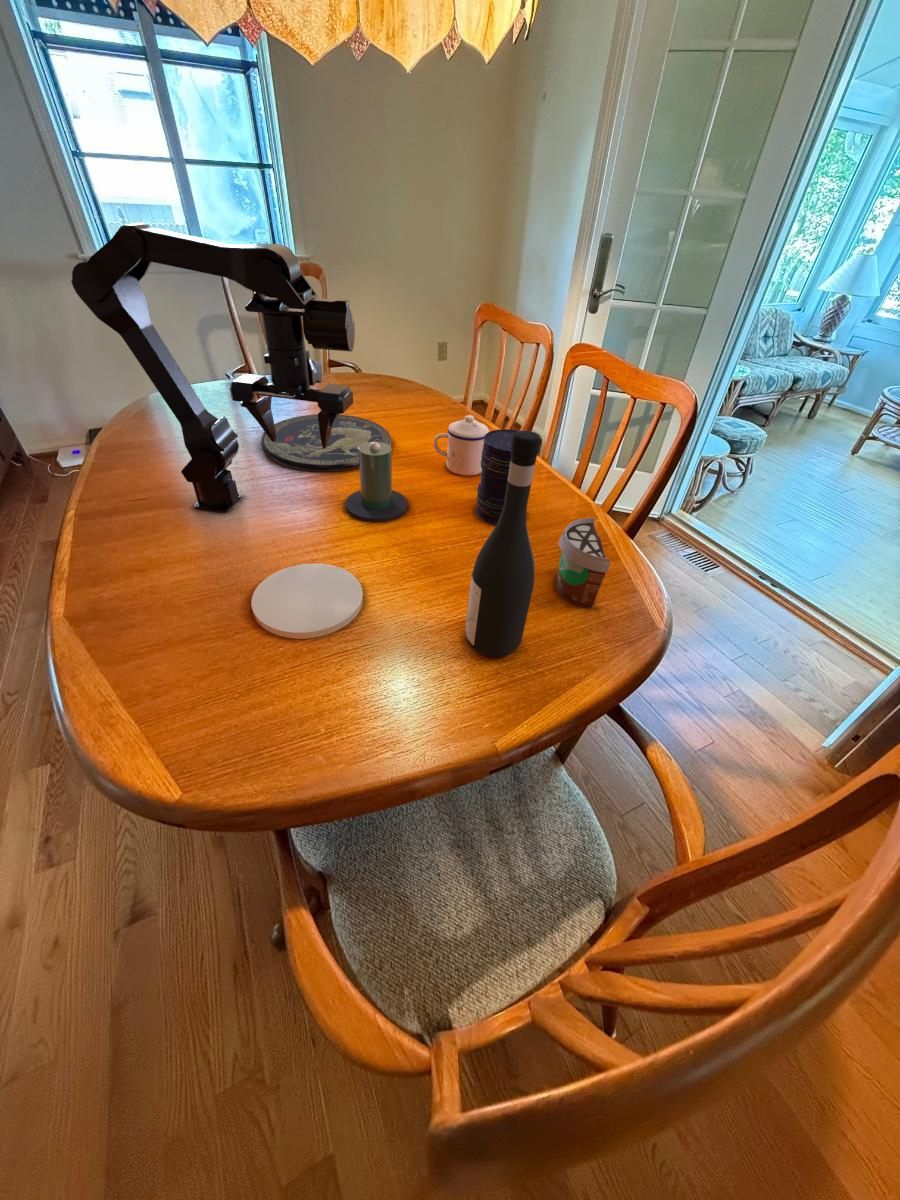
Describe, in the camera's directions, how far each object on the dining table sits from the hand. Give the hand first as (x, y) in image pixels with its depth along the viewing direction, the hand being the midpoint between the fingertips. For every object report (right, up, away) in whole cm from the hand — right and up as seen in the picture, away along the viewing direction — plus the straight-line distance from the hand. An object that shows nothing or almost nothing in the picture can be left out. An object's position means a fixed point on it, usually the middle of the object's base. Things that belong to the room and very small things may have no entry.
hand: (299, 444), depth 86 cm
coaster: (+12, -9, +11) cm, 18 cm away
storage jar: (+36, -10, +12) cm, 39 cm away
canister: (+12, -8, +11) cm, 18 cm away
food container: (+45, -25, -5) cm, 52 cm away
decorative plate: (-3, +10, +32) cm, 33 cm away
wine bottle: (+32, -33, -15) cm, 48 cm away
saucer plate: (+5, -27, -11) cm, 30 cm away
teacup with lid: (+28, +3, +27) cm, 39 cm away
